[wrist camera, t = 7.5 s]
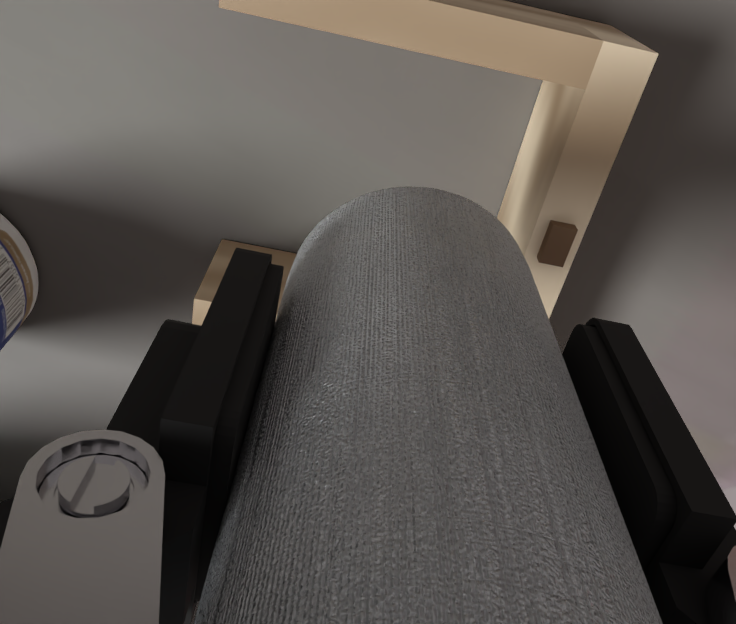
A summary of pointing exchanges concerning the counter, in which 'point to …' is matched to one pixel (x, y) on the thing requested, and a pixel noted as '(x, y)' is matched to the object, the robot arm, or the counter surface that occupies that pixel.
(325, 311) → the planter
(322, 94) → the counter surface
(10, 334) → the pill bottle
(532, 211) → the slot rack
